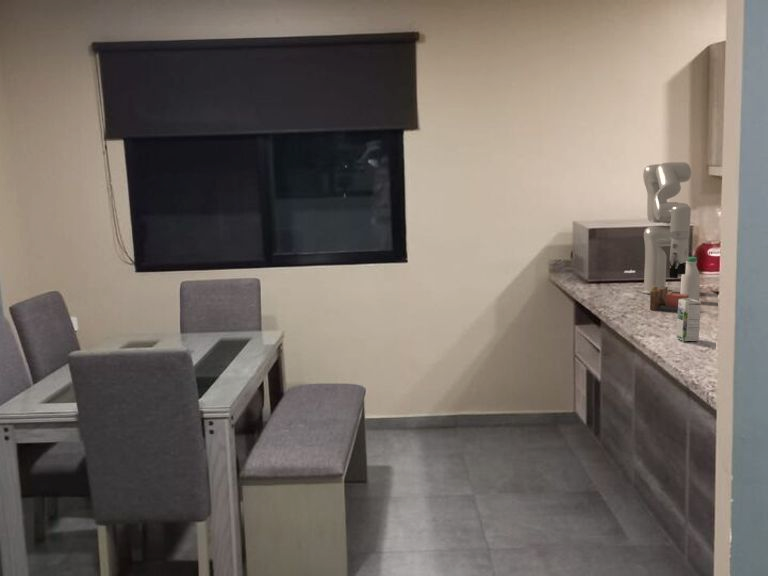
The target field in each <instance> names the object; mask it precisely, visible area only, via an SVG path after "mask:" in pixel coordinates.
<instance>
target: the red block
mask: <svg viewBox="0 0 768 576" xmlns="http://www.w3.org/2000/svg"><path fill="white" fill-rule="evenodd" d="M688 296H689V295H686V294H680V293H674V292H672V291H669V293H667V294H666V298H665V306H675V307H678V302H679V299H688Z"/></svg>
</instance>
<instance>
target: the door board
mask: <svg viewBox="0 0 768 576" xmlns="http://www.w3.org/2000/svg"><path fill="white" fill-rule="evenodd" d="M667 290H669V289H668V286H665V287H661V288H658V289H657V287H656V286H652V287H651V294H650V297H649V298H650V299H649V300H650V301H649V311H650V310H651V311H652V312H656V311H659V310H658V308H659V305H660V304H662V303H665V298H666V294H667Z"/></svg>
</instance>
